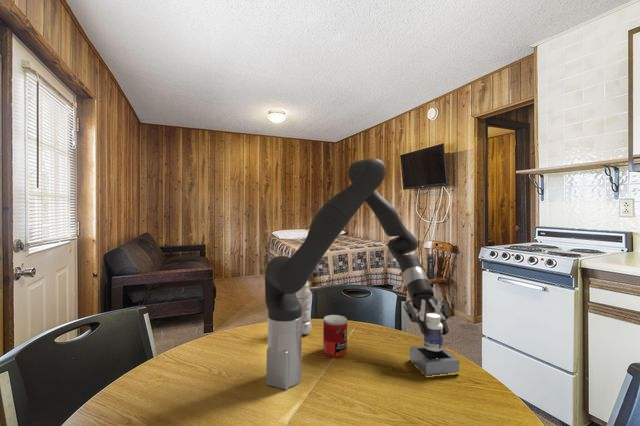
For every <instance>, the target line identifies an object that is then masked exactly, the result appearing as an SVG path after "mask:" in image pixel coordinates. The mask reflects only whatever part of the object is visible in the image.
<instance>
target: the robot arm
mask: <svg viewBox="0 0 640 426" xmlns="http://www.w3.org/2000/svg"><path fill="white" fill-rule="evenodd" d="M386 170H387V168H386V165H385V163H384V162H383V161H382V160H381V159H378V158H364V159H360V160H356V161H353V162H352V163H351V164H350V165H349V166H348V171H347V174H348V175H347V176H348V179H349V181H350V185H348V186H346V188H344V189H343V190H341V191H339V192H338V193H336V194H335V195H333V196H332V197H330V198H329V199H328V200H327V201H326V202H325V203H324V204H323V205H322V206H321V208H320V209H319V210H318V211H317V212H316V214H315V215H314V216H313V218H312V220H311V222H310V225H309V229H308V232H307V235H306V238H305V239H304V241H303V243H302V244H301V245H300V246H299V248H298V249H297V250H296V251H295V252H294V253H293V254H292V255H291V256H287V255H286V256H285V255H278V256H275V257H273V258H271V259H270V260H269V262H268V264H267V265H266V268H265V271H264V293H265V294H264V297H265V305H266V309H267V316H268V317H267V348H266V361H265V362H266V364H265V365H266V372H265V373H266V379H265V383H266V385H267V386H271V387H274V388H278V389H281V390H282V389H283V390H288V389H289V388H290V387H294V386H297V384H299V383H300V382H301V380H302V356H303V355H302V350H303V349H302V348H303V346H302V345H303V343H302V340H303V339H302V336H303V335H302V306H301V304H300V302H299V301H298V299H297V297H296V292H298V291H299V290H301V289H302V288H303V287H304V285H305V284H306V283H307V281H308V282H309V279H310V278H311V276H312V275H313V273H314V271H315V269H316V268H317V266H318V264H319V263H320V262H321V259H322V258H323V257H324V256H325V254H326V252H327V251H328V250H329V249H330V247H331V246H332V245H333V243H334V242H335V240H336V239H337V238H338V237H339V236H340V235H341V233H342V232H343V230H344V229H345V228H346V226H347V225H348V224H349V222H350V221H351V219H352V218H353V217H354V215H356V213H357V212H358V210H359V209H360V208H361V207H362V205H363V204H364V203H366V204H367V205H368V207H369V208H370V209H371V211H372V212H373V214H374V215H375V217H376V218H377V220H378V222H379V224H380V227H382V229H383V231H384V233H385V235H386V236H387V237H390V238H391V239H389V241H388V242H387V249H388V251H389V252H390V254H391V255H392V256H393V258H394V259H395V260H396V262H397V264H398V265H399V268H400V271H401V274H402V277H403V278H402V279H403V281H404V285H405V288H406V289H407V293H408V297H409V299H410V301H408V300H406V301H405V302H404V304H403V309H404V311H405V312H406V315H407V316H408V319H409V320H410V322H411V323H413V324H414V323H416V324H418V327H419V329H420V333H421V334H422V335H423V337H424V336H428V335H429V331H428V328H427V325H426V323H425V321H426V320H425V315H426V314H428V313H434V314H438V315H440V318H441V320H440V322H441V323H442V325H443V336H448V334H449V331H450V329H449V327H448V324H447V321H448V319H449V318H451V315H450V312H449V311H450V310H449V306H448V303H447V300H446V299H442V300H438V299H437V298H436V296H435V294H434V290H433V288H432V286H431V283H430V280H429V279H428V276H427V274H426V272H425V270H424V269H423V266H422V263H421V261H420V258H419V257H418V256H417V255H416V254H413V252H414V251H416V250H417V249H418V246H419V242H418V240H417V238H416V237H415V235H414V234H412V232H411V231H409V230H408V229H407V228H406V226H405V225H404V223H403V220H402V219H401V218H400V216H399V213H398V212H397V210H396V208H395V207H394V206H393V205H392V204H391V203H389V201H387V200H386V199H385V197H383V195H381V194H380V193H379V192H378V191H377V189H378V188H379V187H380V185H381V184H382V183H383V181H384V180H385V178H386V173H387V171H386ZM392 237H393V238H392ZM410 253H412V254H410ZM414 309H415V310H416V312H415V310H414Z"/></svg>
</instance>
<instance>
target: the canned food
mask: <svg viewBox="0 0 640 426" xmlns="http://www.w3.org/2000/svg"><path fill="white" fill-rule="evenodd" d="M322 323H323V325H322V326H323V328H322V331H323V332H322V333H323V345H322V347H323V349H322V350H323V353H324V354H325V356H327V357H330V358H334V359H335V358H336V359H339V358H343V357H344V356H346V354H347V352H348V319H347V318H346V316H344V315H339V314H329V315H326V316H324V317H323V322H322Z"/></svg>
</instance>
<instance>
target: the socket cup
mask: <svg viewBox="0 0 640 426" xmlns="http://www.w3.org/2000/svg"><path fill="white" fill-rule="evenodd" d="M436 358H438V359H436ZM410 359H411V360H412V362H413V363H414V364H415V365H416V366H417V367H418V368H419V369H420V370H421V371H422V372H423V373H424V374H425V375H426V376H432V375H440V374H448V373H456V372H459V373H460V359H458V358H457V357H456V356H455V355H453V354H452V353H451V352H449V350H447V349H446V348H445V347H443V349H442V350H441V351H430V350H427V349H426V348H425V347H424V345H416V346H409V360H410ZM412 362H411V363H412ZM413 363H412V364H413ZM414 364H413V365H414ZM415 365H414V366H415ZM416 366H415V367H416Z"/></svg>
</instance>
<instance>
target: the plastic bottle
mask: <svg viewBox="0 0 640 426" xmlns="http://www.w3.org/2000/svg"><path fill="white" fill-rule="evenodd" d="M309 285H310V284H309V280H308V281H307V283H306V284H305V285H304V287H303V288H302V289H301V290H299V291H298V292H296V297H297V299H298V301H299V302H300V304H301V306H302V336H304V335H308V334H310V332H311V331H312V321H311V304H312V298H313V297H312V296H313V293H312V291H311V290H310V288H309Z"/></svg>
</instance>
